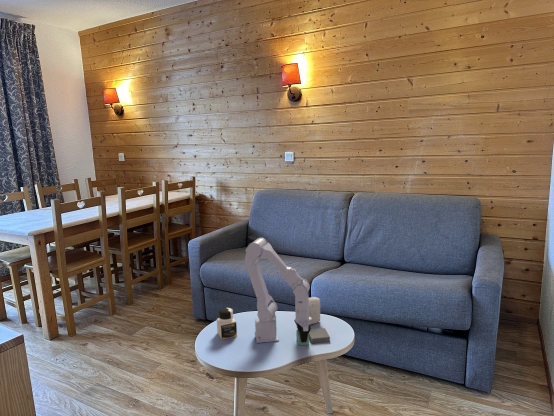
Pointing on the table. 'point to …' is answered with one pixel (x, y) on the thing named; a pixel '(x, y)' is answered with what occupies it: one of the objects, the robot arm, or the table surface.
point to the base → (318, 335)
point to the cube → (300, 339)
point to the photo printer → (314, 310)
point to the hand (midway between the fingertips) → (302, 338)
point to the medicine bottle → (226, 324)
